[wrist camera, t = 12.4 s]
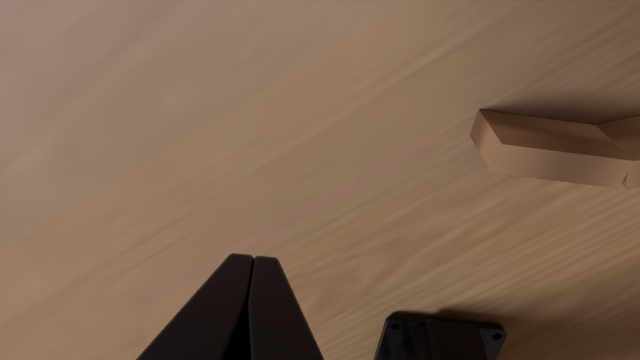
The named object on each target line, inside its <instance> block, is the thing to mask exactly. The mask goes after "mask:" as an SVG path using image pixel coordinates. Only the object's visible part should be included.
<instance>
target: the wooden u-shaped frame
mask: <svg viewBox="0 0 640 360" xmlns="http://www.w3.org/2000/svg"><path fill="white" fill-rule="evenodd" d="M470 137H471V138H472V140H473V142H474V144H475V145H476V147H477V149H478V151H479V152H480V154H481V156H482V157H483V159H484V161H485V163H486V164H487V166H488V168H489V170H490V171H491V173H497V174H506V175H514V176H522V177H530V178H538V179H546V180H554V181H563V182H571V183H579V184H587V185H595V186H603V187H611V188H619V187H620V186H621V184H623V186H624V187H625V188H626V189H628V188H633V187H638V186H640V115H638V116H634V117H629V118H625V119H620V120H616V121H611V122H607V123H602V124H597V125H591V124H583V123H576V122H568V121H561V120H553V119H546V118H538V117H531V116H523V115H516V114H508V113H501V112H493V111H486V110H478V113H477V116H476V119H475V122H474V125H473V128H472V131H471V134H470Z"/></svg>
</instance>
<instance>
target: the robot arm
mask: <svg viewBox="0 0 640 360" xmlns="http://www.w3.org/2000/svg"><path fill="white" fill-rule="evenodd" d="M506 336H507V334H506V332H505V330H504V327H503V326H502V325H499V324H491V323H481V322H470V321H460V320H450V319H439V318H429V317H419V316H408V315H398V314H395V315H390V316H389V317H387V319H386V320H385V324H384V327H383V330H382V334H381V337H380V340H379V343H378V347H377V350H376V353H375V357H374V360H495V359H496V357H497V355H498V353H499V351H500V349H501V347H502V345H503V343H504V341H505V339H506ZM136 360H324V358H323V356H322V354H321V352H320V350H319V347H318V345H317V343H316V341H315V339H314V336H313V334H312V332H311V330H310V328H309V326H308V323H307V321H306V319H305V317H304V315H303V312H302V310H301V308H300V306H299V304H298V302H297V299H296V297H295V295H294V293H293V291H292V288H291V286H290V284H289V282H288V280H287V278H286V275H285V273H284V271H283V269H282V267H281V264H280V262H279V260H278V259H277V258H275V257H266V256H256V257H255V258H253V256H252V255H247V254H237V253H232V254H230V255H229V256H228V257H227V258H226V259H225V260H224V262H223V263H222V264H221V265H220V266H219V267H218V268H217V269H216V270H215V272H214V273H213V274H212V275H211V276H210V277H209V278H208V279H207V281H206V282H205V283H204V284H203V285H202V286H201V287H200V288H199V290H198V291H197V292H196V293H195V294H194V295H193V296H192V297H191V299H190V300H189V301H188V302H187V303H186V304H185V305H184V306H183V307H182V309H181V310H180V311H179V312H178V313H177V314H176V315H175V316H174V318H173V319H172V320H171V321H170V322H169V323H168V324H167V325H166V327H165V328H164V329H163V330H162V331H161V332H160V333H159V334H158V336H157V337H156V338H155V339H154V340H153V341H152V342H151V343H150V344H149V346H148V347H147V348H146V349H145V350H144V351H143V352H142V353H141V355H140V356H139V357H138V358H137V359H136Z"/></svg>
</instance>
